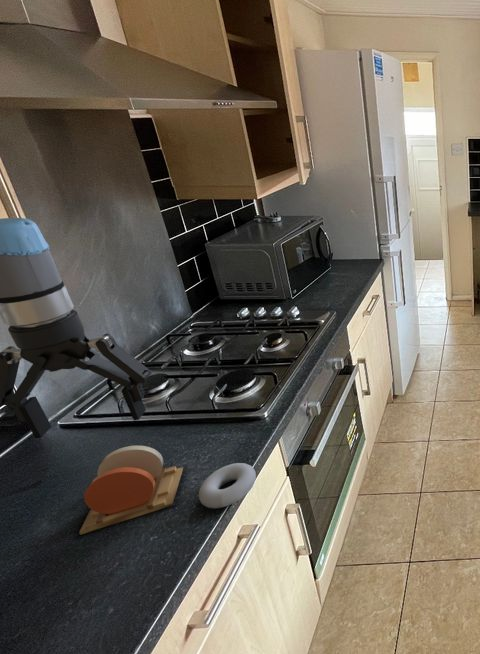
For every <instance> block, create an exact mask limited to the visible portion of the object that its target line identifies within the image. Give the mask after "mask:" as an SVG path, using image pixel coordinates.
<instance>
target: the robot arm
mask: <svg viewBox="0 0 480 654" xmlns="http://www.w3.org/2000/svg"><path fill="white" fill-rule="evenodd" d="M74 307H75V305H74V303H73V300H72V298H71V296H70V294H69V292H68V289H67V287H66V284H65V283H64V281H63V279H62V277H61V274H60V272H59V269H58V267H57V265H56V262H55V260H54V258H53V255H52V252H51V250H50V245H49V243H48V242H47V241H46V239H45V237H44V236H43V234H42V232H41V230H40V228H39V226H38V225H37V223H35V222H34V221H33V220H31V219H29V218H25V217H4V218H0V318H1V320H2V322H3V324H4V325H6V326H9V327H8V328H7V331H8V333H9V334H10V337H11V339H12V340H13V342H14V344H15V346H13V345H11V346H7V347H6V348H4V349H2V350H1V351H0V407H1V406H8V407H9V408H12V410H13V412H14V413H15V415H16V417H17V419H18V421H20V422H26V423H25V424H27V426H28V428H29V430H30V431H31V433H32V435H33V437H34V439H41V438H42V437H43V436H45V434H46V433H47V432H48V431H49V430H50V429H51V428H52V425H51V424H52V423H50V421H49V419H48V416H47V415H46V413H45V411H44V409H43V407H42V406H41V404H40V402H39V400H38V398H37V396H30V395H31V393H32V391H33V390H34V388H35V387H36V386H37V384H38V382H39V381H40V379H41V378H42V376H43V375H44V374H45V372H46V371H49V372H50V373H51V372H58V371H60V370H72V369H75V368H78V369H80V370H83V371H90V372H92V373H94V374H97V375H99V376H101V377H103V378H105V379H107V380H109V381H111V382H114V383H116V384H118V385H120V386H121V387H123V388H122V389H121V390H120V391H121V394H122V396H123V399H124V401H125V403H126V406H127V408H128V410H129V413H130V415H131V417H132V419H133V421H139V420H140V419H141V418H142V416H143V415H144V413H145V412H146V409H147V408H146V406H145V403H144V402H143V399H144V398H145V397H146V392H145V389H144V387H143V385H142V384H143V383H145V382H146V381H147V380H148V379H149V377H150V376H151V374H152V370H151V369H149V368H148V367H146V365H144V364H143V363H142V362H140V361H139V360H138V359H136V358H135V357H134V356H133V355H131V354H130V353H129V352H128V351H126V349H124V348H123V347H122V346H121V345H119V344H118V343H117V342H116V340H115V338H114V337H113V335H112V334H111V333H104V334H103V335H102V336H100V337H96V338H92V339H90V338H88V337H87V336H86V333H85V328H84V325H83V322H82V321H81V320H82V319H80V316H79V314H78V312H77V310H75V309H74ZM92 348H93V349H94V350H93V349H92ZM86 358H88V359H89V360H86ZM22 359H23V360H25V361H26V362H29V363H31V364H32V365H31V366H30V367H29V369H28V371H27V372H26V375H25V376H24V378H23V380H22V381H21V383H20V384H19V386H18V387H17V389H16V390H15V391H14V389H15V384H16V381H17V376H18V370H19V367H20V361H21V360H22ZM28 397H29V398H28Z"/></svg>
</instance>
